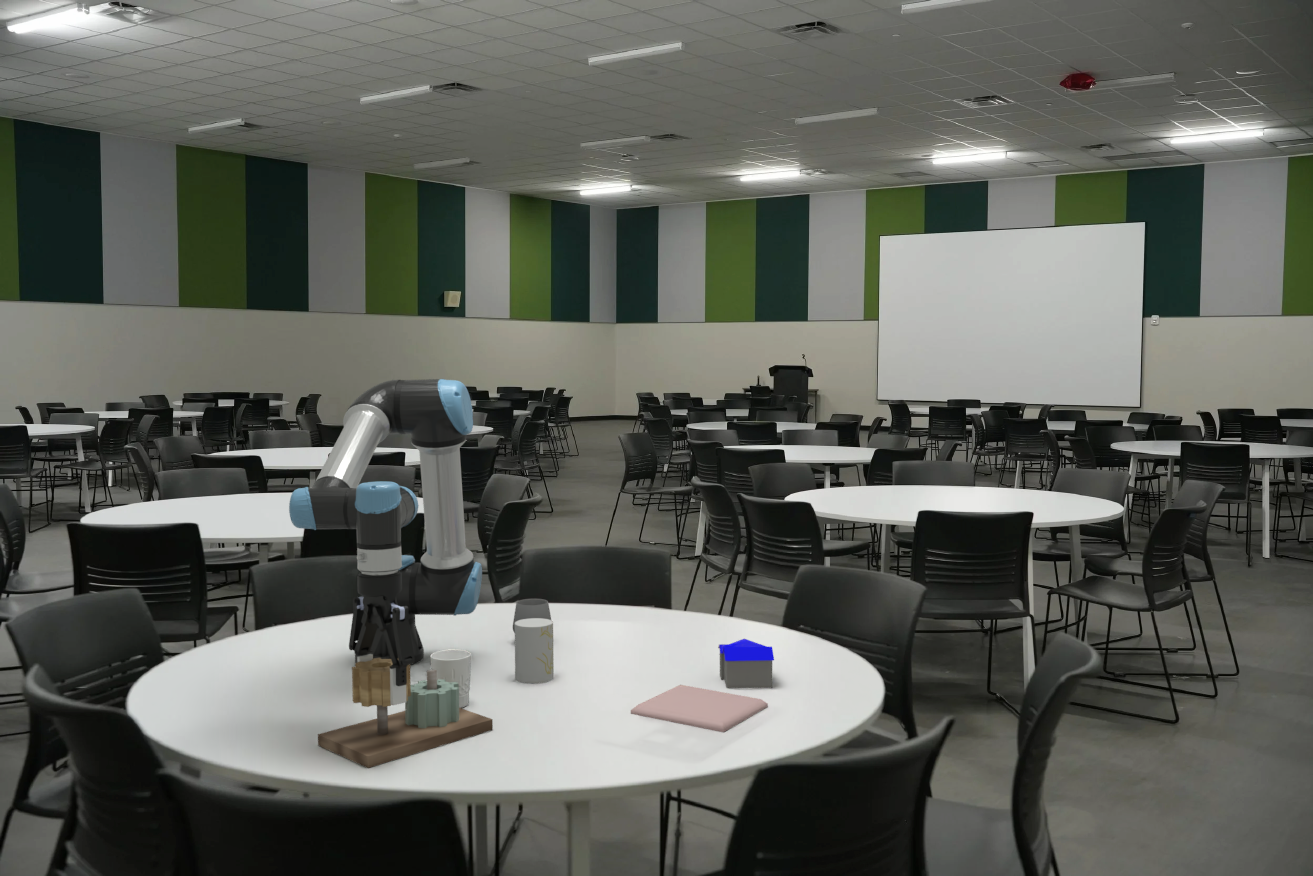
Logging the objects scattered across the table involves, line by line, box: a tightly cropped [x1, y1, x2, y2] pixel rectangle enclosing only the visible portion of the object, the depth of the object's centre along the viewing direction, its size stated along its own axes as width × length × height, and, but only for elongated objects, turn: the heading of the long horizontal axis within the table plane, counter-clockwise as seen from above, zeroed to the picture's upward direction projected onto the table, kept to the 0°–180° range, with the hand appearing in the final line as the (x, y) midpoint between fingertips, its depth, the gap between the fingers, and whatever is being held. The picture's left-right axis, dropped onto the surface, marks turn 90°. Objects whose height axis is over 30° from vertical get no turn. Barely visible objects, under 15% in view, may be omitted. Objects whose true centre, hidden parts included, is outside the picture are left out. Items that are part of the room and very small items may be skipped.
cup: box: [512, 598, 552, 634], centre depth 263 cm, size 10×9×10 cm
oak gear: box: [351, 658, 412, 708], centre depth 192 cm, size 10×10×6 cm
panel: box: [630, 684, 769, 733], centre depth 206 cm, size 35×33×2 cm
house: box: [718, 638, 775, 689], centre depth 231 cm, size 10×11×8 cm
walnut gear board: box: [317, 669, 494, 769], centre depth 196 cm, size 16×26×11 cm, turn 137°
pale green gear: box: [404, 679, 459, 728], centre depth 200 cm, size 10×10×6 cm
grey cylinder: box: [514, 618, 555, 685], centre depth 233 cm, size 8×8×12 cm
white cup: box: [429, 648, 472, 709], centre depth 215 cm, size 8×8×10 cm
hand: (381, 697), depth 192 cm, fingers closed on oak gear, 10 cm apart
